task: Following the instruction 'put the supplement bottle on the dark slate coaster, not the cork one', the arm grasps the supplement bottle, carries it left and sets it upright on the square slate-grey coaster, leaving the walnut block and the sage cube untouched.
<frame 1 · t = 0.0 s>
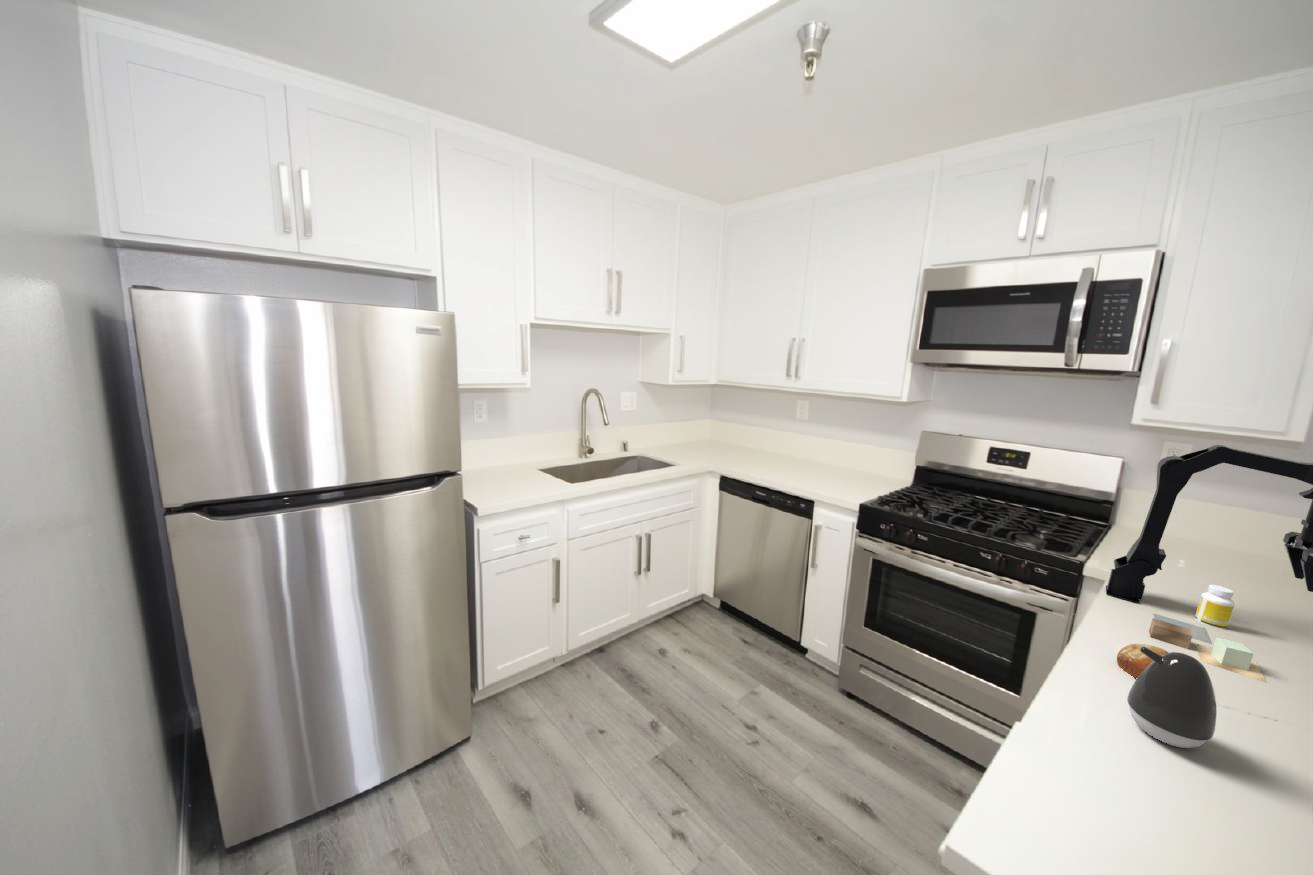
hand: (1304, 584, 111), 15 cm above the counter, fingers open, 9 cm apart
cork coaster: (1228, 664, 104), on the counter
slate coaster: (1180, 629, 116), on the counter
sage cube: (1228, 661, 103), point 1 cm above the counter, touching cork coaster
walnut block: (1167, 642, 111), on the counter
supplement bottle: (1209, 625, 120), on the counter
bread roll: (1150, 677, 98), on the counter
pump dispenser: (1161, 734, 83), on the counter
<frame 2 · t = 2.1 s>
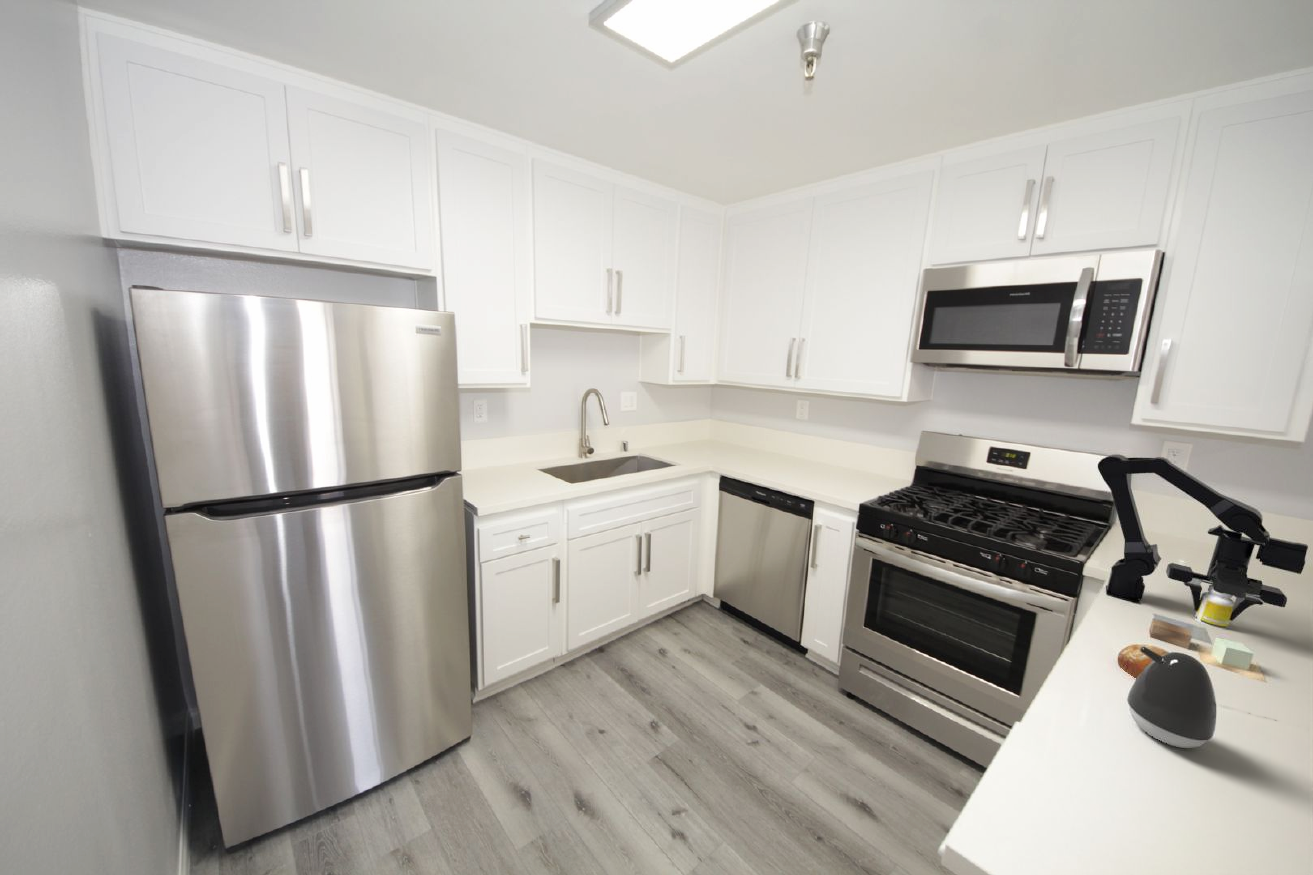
hand: (1212, 615, 119), 3 cm above the counter, fingers closed on supplement bottle, 5 cm apart
supplement bottle: (1209, 625, 120), on the counter, touching gripper
everything else where it was.
when the fingers open (4 cm above the counter, at t = 6.0 s): supplement bottle stays where it is, resting on slate coaster.
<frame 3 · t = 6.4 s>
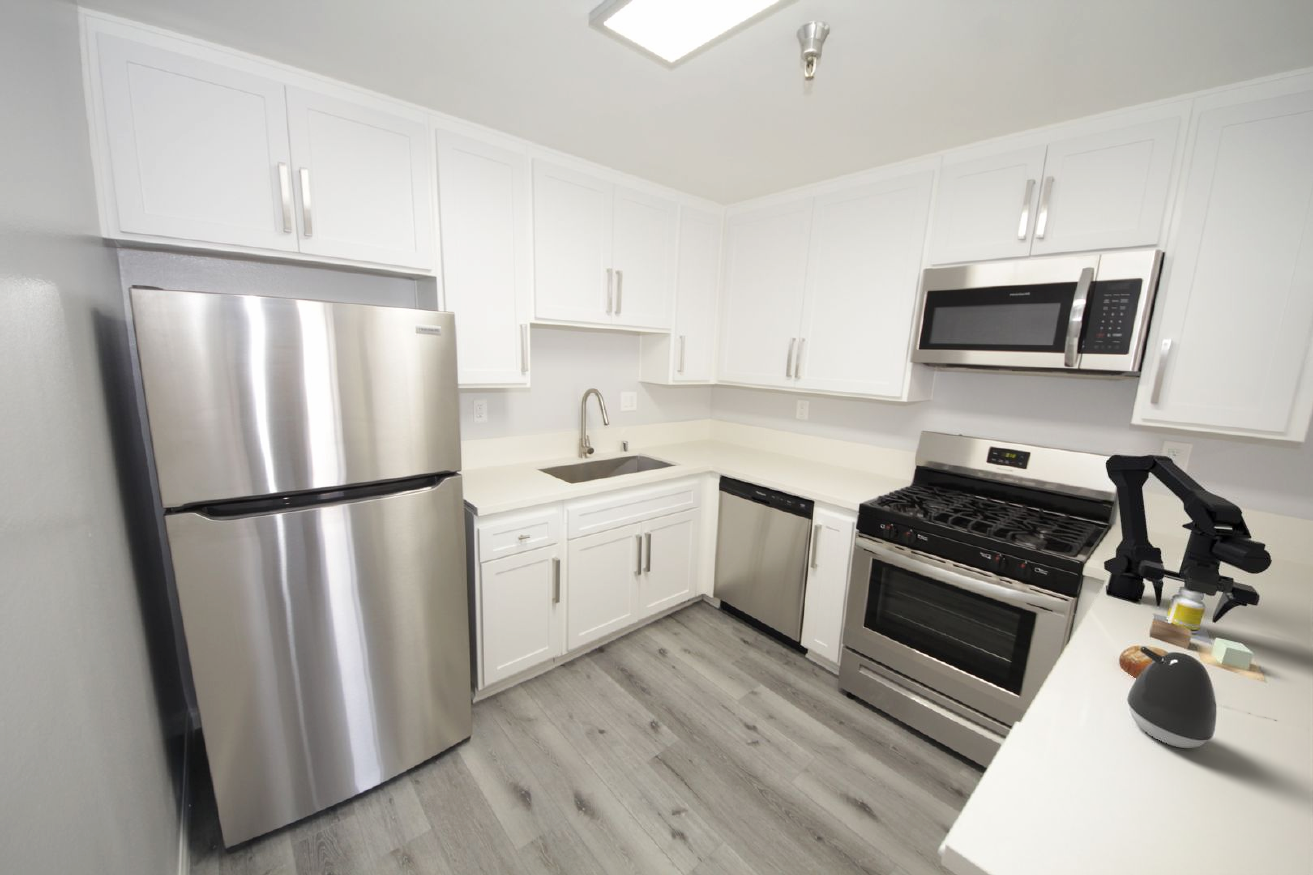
hand: (1185, 613, 115), 4 cm above the counter, fingers open, 9 cm apart
supplement bottle: (1180, 628, 116), resting on slate coaster
everything else where it was.
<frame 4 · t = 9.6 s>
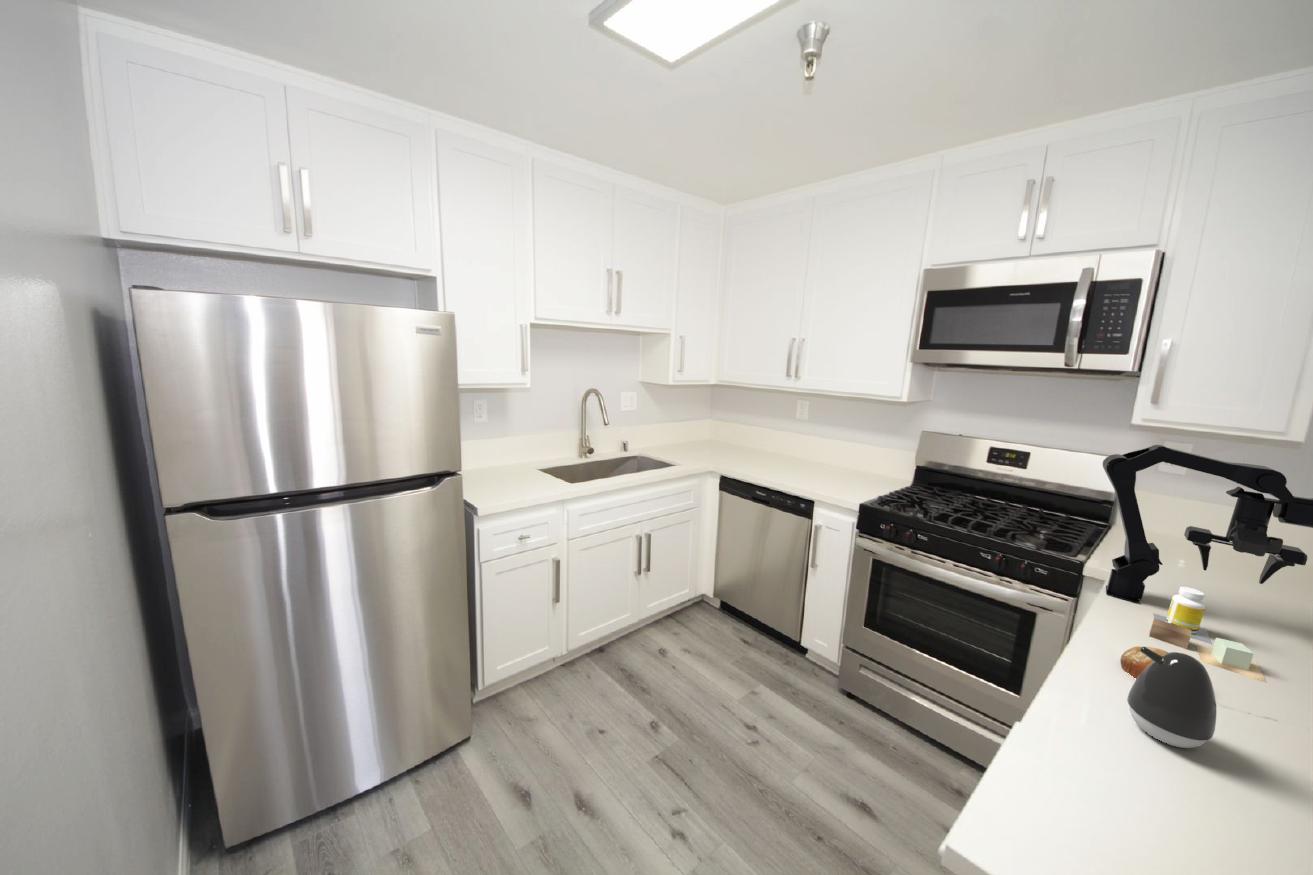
hand: (1231, 576, 120), 12 cm above the counter, fingers open, 9 cm apart
nothing on the counter moved.
at the end: supplement bottle inside the target area on the slate coaster (0.0 cm from its centre), point 0.4 cm above the slate coaster's base; supplement bottle tilted 0°; walnut block moved 0.2 cm from its start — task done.
